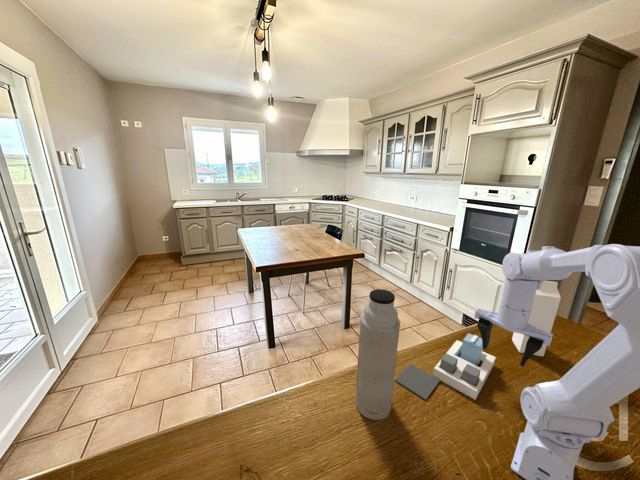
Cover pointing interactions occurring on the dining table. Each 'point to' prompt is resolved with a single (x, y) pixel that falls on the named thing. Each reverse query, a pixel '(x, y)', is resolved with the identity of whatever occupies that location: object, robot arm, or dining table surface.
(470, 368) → the plunger near
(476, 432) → the dining table surface
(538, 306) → the milk
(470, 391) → the housing
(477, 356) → the block
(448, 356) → the plunger far
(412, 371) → the mat
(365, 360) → the thermos bottle
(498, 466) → the dining table surface
